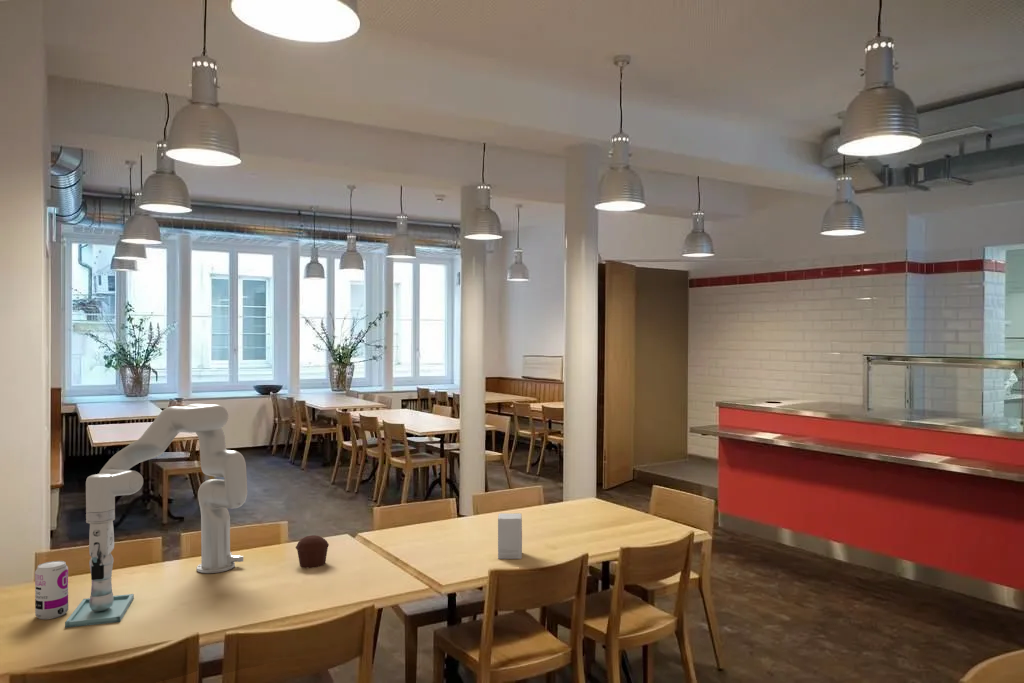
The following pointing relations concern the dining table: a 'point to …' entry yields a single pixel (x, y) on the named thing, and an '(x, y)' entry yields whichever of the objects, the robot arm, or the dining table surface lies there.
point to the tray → (99, 612)
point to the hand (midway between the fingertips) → (101, 574)
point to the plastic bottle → (102, 587)
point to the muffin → (312, 551)
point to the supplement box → (510, 536)
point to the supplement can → (51, 590)
